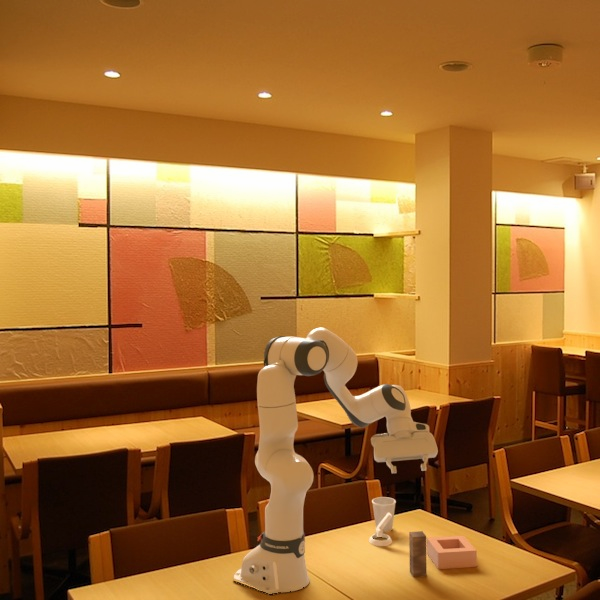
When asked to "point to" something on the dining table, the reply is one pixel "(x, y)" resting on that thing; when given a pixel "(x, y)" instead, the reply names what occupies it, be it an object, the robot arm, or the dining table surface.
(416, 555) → the walnut block
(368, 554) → the dining table surface
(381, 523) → the white lever
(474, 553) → the terracotta well
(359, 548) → the dining table surface
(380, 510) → the dixie cup
